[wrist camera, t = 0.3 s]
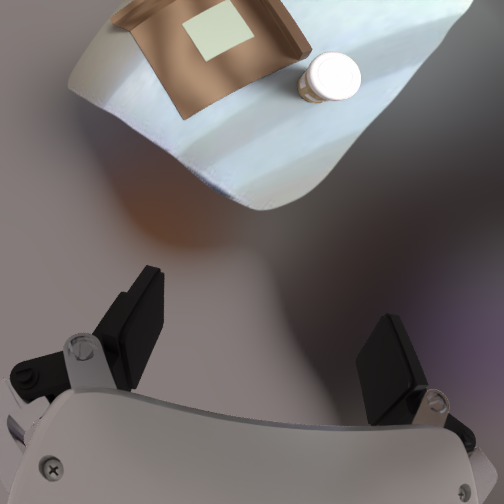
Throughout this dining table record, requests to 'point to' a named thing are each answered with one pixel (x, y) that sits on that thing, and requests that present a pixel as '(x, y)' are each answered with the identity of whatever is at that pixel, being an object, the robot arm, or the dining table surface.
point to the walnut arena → (222, 66)
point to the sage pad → (217, 30)
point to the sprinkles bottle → (329, 78)
